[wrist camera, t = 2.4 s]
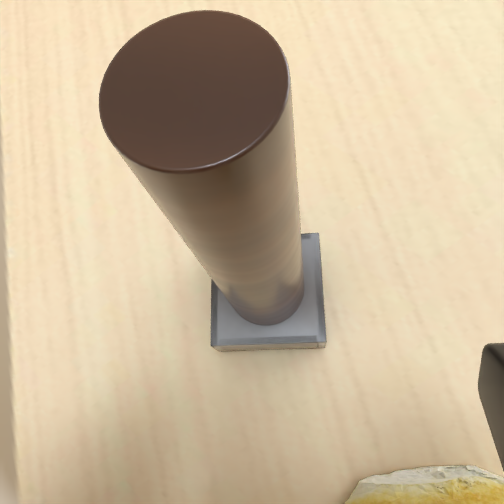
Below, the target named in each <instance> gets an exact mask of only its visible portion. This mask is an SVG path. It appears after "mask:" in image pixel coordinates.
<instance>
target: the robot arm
mask: <svg viewBox="0 0 504 504" xmlns="http://www.w3.org/2000/svg"><path fill="white" fill-rule="evenodd" d="M478 391H479V396H480V399H481V402H482V406H483V409H484V412H485V415H486V418H487V421H488V424H489V427H490V430H491V433H492V437H493V440H494V443H495V446H496V449H497V452H498V455H499V458H500V461H501V465H502V468H503V471H504V343H490V344H487V345H486V346H485V347H484V349H483V352H482V358H481V365H480V372H479V379H478Z"/></svg>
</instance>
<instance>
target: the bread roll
mask: <svg viewBox="0 0 504 504" xmlns="http://www.w3.org/2000/svg"><path fill="white" fill-rule="evenodd" d="M344 504H504V477H501V476H498V475H496V474H494V473H491V472H489V471H486V470H484V469H481V468H479V467H477V466H473V465H468V466H463V465H460V466H458V465H457V466H428V467H420V468H415V469H411V470H407V469H404V470H400V471H394V472H392V473H390V474H383V475H379V476H378V475H372V476H370V477H367V478H365V479H363V480H360V481H359V482H358V484H357V486H356V488H355V489H354V491H353V492H352V494H351V495H350V497H349V498H348V500H347V501H346V502H345V503H344Z"/></svg>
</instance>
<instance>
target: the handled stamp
mask: <svg viewBox="0 0 504 504" xmlns="http://www.w3.org/2000/svg"><path fill="white" fill-rule="evenodd" d="M99 112H100V119H101V122H102V126H103V129H104V131H105V133H106V135H107V137H108V138H109V140H110V141H111V143H112V144H113V146H114V147H115V148H116V150H117V151H118V152H119V154H120V155H121V157H122V158H123V159H124V161H125V162H126V163H127V165H128V166H129V167H130V169H131V170H132V171H133V173H134V174H135V175H136V177H137V178H138V180H139V181H140V182H141V184H142V185H143V186H144V188H145V189H146V190H147V192H148V193H149V194H150V196H151V197H152V198H153V200H154V201H155V203H156V204H157V205H158V207H159V208H160V209H161V211H162V212H163V213H164V215H165V216H166V217H167V219H168V220H169V221H170V223H171V224H172V226H173V227H174V228H175V230H176V231H177V232H178V234H179V235H180V236H181V238H182V239H183V240H184V242H185V243H186V244H187V246H188V247H189V249H190V250H191V251H192V253H193V254H194V255H195V257H196V258H197V259H198V261H199V262H200V263H201V265H202V266H203V267H204V269H205V270H206V271H207V273H208V274H209V276H210V277H211V278H212V282H211V346H212V347H213V348H215V349H216V350H218V351H235V350H265V349H295V348H325V346H326V328H325V314H324V299H323V285H322V271H321V256H320V242H319V233H307V234H301V227H300V212H299V197H298V183H297V168H296V153H295V138H294V123H293V108H292V93H291V78H290V71H289V66H288V63H287V59H286V57H285V55H284V53H283V51H282V49H281V47H280V46H279V44H278V43H277V42H276V40H275V39H274V38H273V37H272V36H271V35H270V34H269V33H268V32H267V31H266V30H265V29H264V28H262V27H261V26H260V25H258V24H257V23H255V22H253V21H251V20H250V19H247V18H245V17H242V16H240V15H236V14H233V13H229V12H223V11H212V10H202V11H191V12H185V13H181V14H177V15H173V16H170V17H167V18H165V19H162V20H160V21H158V22H156V23H154V24H152V25H150V26H148V27H147V28H145V29H143V30H142V31H140V32H139V33H138V34H136V35H135V36H134V37H132V38H131V39H130V40H129V41H128V42H127V43H126V44H125V45H124V46H123V47H122V48H121V49H120V50H119V52H118V53H117V54H116V55H115V57H114V58H113V60H112V61H111V63H110V64H109V66H108V68H107V70H106V72H105V74H104V77H103V80H102V83H101V88H100V93H99Z"/></svg>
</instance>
